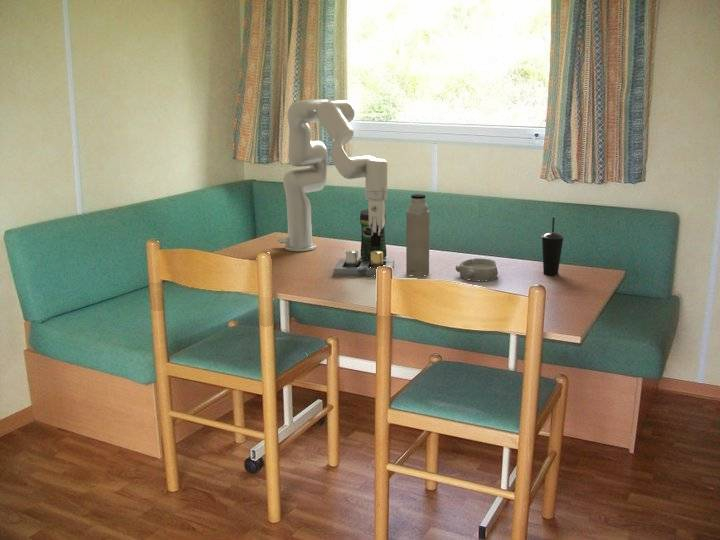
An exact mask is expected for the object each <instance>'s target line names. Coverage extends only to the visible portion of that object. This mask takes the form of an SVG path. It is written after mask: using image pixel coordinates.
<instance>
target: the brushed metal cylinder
mask: <svg viewBox="0 0 720 540" xmlns="http://www.w3.org/2000/svg"><path fill="white" fill-rule="evenodd" d="M345 259H346V267H356V268H358V259H359V251H358V250H353V249H352V250H347V251H345Z"/></svg>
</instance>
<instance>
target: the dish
mask: <svg viewBox="0 0 720 540" xmlns="http://www.w3.org/2000/svg"><path fill="white" fill-rule="evenodd" d="M455 271H456V272H457V273H459V276H460V277H461V278H462V279H464V278H465V279H464V280H467V279H470V280H469V281H471V280H480V281H479V282H486V281H485V280H490V281H492V280H495V279H496V278H497V277H498V274H499V272H498V268H497V262H496V261H495V260H494V259H490V258H479V257H478V258H469V259H466V260H463V261H461V262H460V263H459V265H456V266H455ZM482 280H483V281H482Z"/></svg>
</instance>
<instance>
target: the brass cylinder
mask: <svg viewBox="0 0 720 540" xmlns="http://www.w3.org/2000/svg"><path fill="white" fill-rule="evenodd" d="M383 260H384V259H383V252H382V251H372V252H371V268H377V267H379V266H383Z"/></svg>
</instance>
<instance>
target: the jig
mask: <svg viewBox="0 0 720 540" xmlns="http://www.w3.org/2000/svg"><path fill="white" fill-rule="evenodd" d="M383 265H385V266H390V267H392V268H393V270H394V269H395V259H383ZM358 267H359V268H356V267H346V258H339V259H338V262H337V263H336V264H335V267H333V277H365V276H374V275H375V276H376V269H377V268H370V267H371V259H365V258H358Z"/></svg>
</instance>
